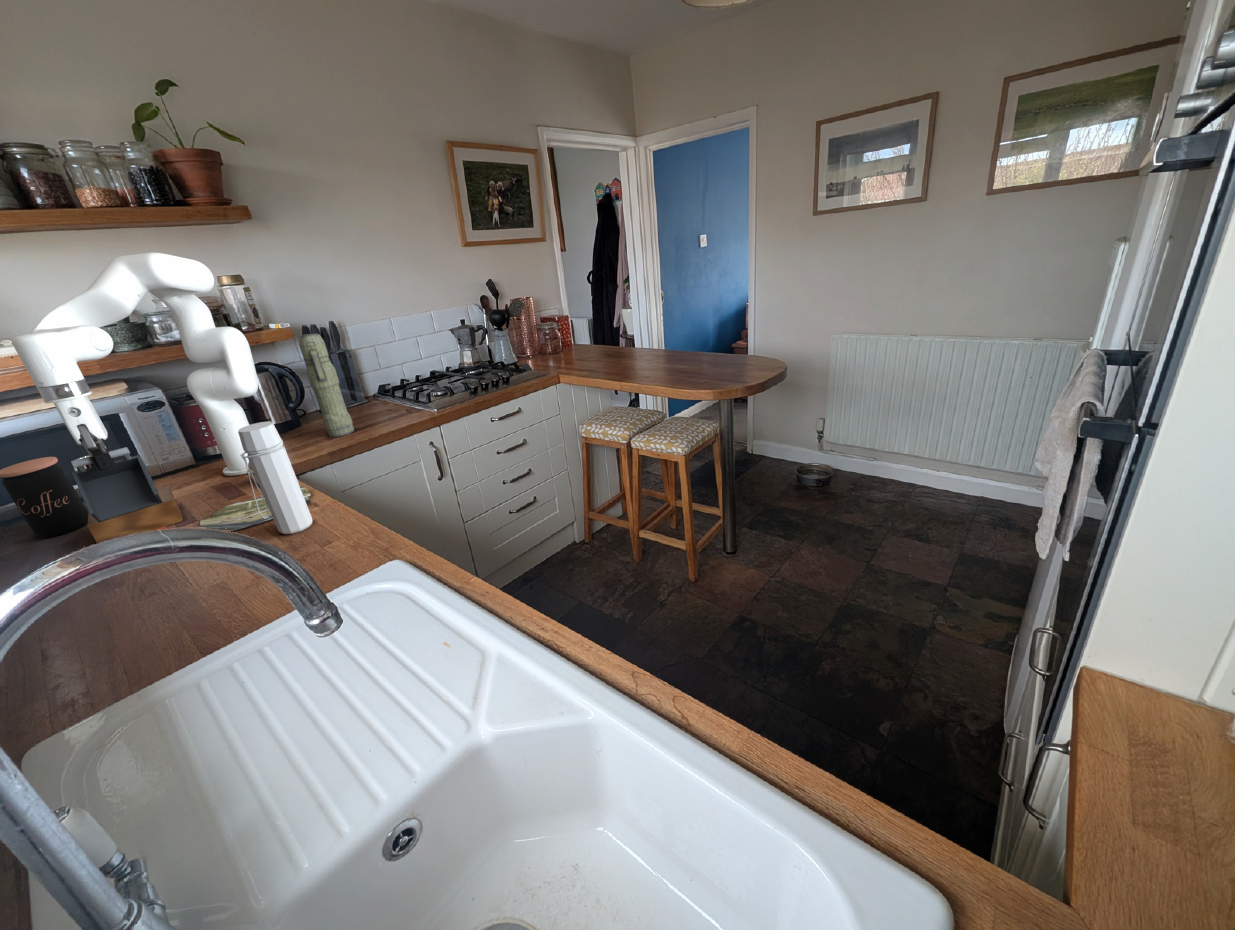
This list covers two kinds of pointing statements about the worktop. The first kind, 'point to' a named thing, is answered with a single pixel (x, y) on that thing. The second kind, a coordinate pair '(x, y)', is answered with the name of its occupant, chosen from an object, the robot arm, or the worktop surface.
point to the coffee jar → (45, 497)
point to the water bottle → (275, 477)
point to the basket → (116, 486)
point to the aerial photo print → (242, 514)
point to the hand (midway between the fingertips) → (107, 469)
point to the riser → (138, 519)
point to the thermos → (325, 385)
